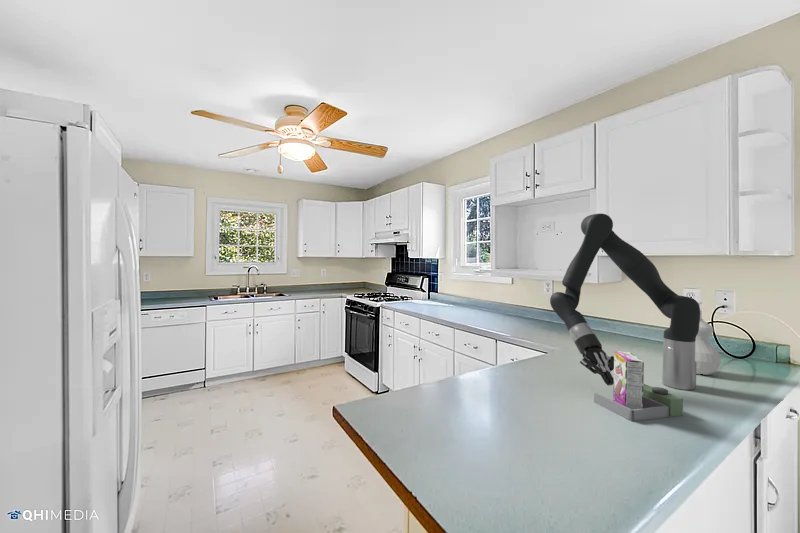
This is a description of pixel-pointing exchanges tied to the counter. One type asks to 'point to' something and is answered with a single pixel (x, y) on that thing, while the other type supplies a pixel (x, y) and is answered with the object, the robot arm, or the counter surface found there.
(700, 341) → the soap bottle
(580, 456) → the counter surface
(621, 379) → the candy bar box
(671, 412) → the frame with green block
